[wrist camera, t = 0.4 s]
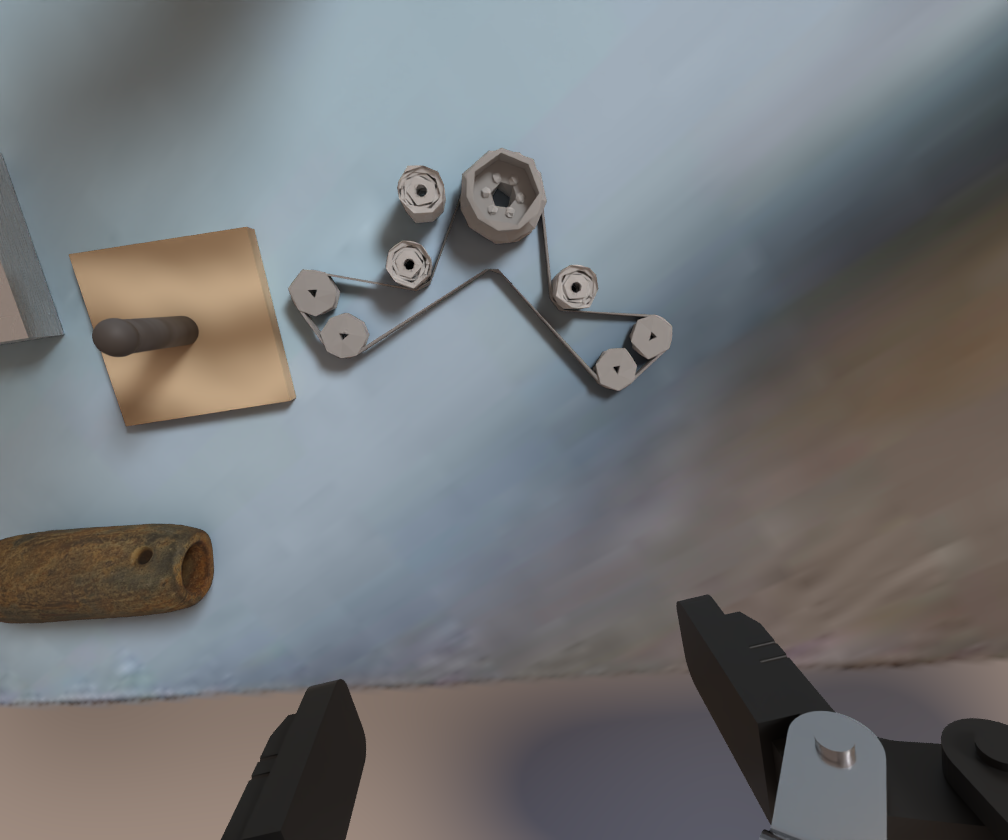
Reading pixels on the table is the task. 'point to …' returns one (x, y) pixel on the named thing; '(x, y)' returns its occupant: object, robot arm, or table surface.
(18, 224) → the link
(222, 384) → the wooden board with peg
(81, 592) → the brown cylinder
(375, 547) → the table surface
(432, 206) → the pulley system
